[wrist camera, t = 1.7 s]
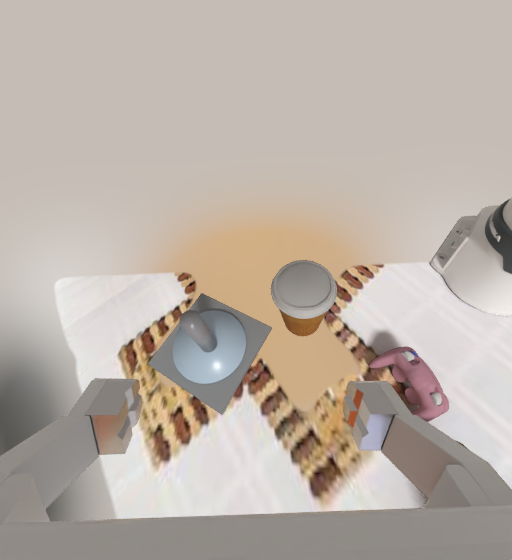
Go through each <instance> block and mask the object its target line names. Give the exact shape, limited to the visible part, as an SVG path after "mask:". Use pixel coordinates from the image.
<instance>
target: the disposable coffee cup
mask: <svg viewBox="0 0 512 560" xmlns="http://www.w3.org/2000/svg"><path fill="white" fill-rule="evenodd" d="M271 295H272V298H273V301H274V303H275V304H276V305H277V307H278V308H279V310H280V312H281V314H282V317H283V320H284V322H285V325H286V327H287V328H288V330H289V331H290V332H292V333H293V334H295V335H298V336H307V335H310V334H313V333H314V332H315V331H316V330H317V328H318V327H319V325H320V323H321V321H322V319H323V317H324V315H325V313H326V311H328V310H329V309H330V308H331V306H332V305H333V303H334V302H335V299H336V295H337V287H336V283H335V280H334V279H333V277H332V275H331V274H330V273H329V271H328V270H327V269H326V268H324V267H323V266H322V265H320V264H318V263H315V262H313V261H307V260H301V261H294V262H291V263H289V264H287V265H285V266H284V267H282V268H281V269H280V270H279V272H278V273H277V274H276V276H275V277H274V279H273V281H272V285H271Z"/></svg>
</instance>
